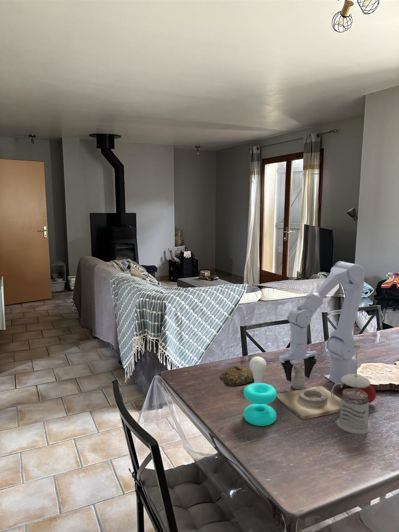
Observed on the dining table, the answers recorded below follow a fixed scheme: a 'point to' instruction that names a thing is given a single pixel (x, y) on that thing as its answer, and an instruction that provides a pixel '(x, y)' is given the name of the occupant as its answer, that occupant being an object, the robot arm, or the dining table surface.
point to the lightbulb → (257, 368)
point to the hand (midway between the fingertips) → (298, 378)
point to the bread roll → (237, 376)
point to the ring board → (307, 409)
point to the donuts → (260, 404)
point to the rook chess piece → (298, 378)
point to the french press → (352, 418)
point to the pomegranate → (369, 393)
